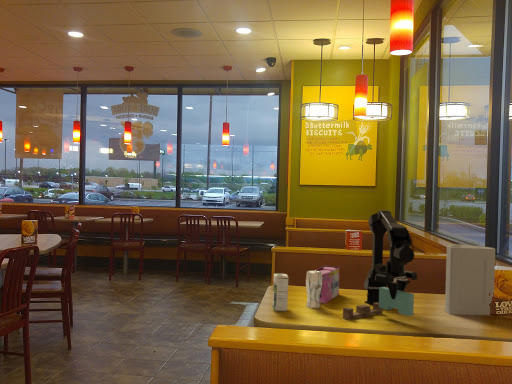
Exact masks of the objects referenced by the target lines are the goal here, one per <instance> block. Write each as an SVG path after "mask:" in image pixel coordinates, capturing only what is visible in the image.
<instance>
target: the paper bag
mask: <svg viewBox="0 0 512 384" xmlns="http://www.w3.org/2000/svg"><path fill="white" fill-rule="evenodd" d="M445 263H446V266H445V296H444V297H445V299H444V300H445V303H444V304H445V305H444V312H445V313H446V314H448V315H456V316H457V315H458V316H459V315H460V316H463V315H464V316H491V315H490V306H489V304H490V303H491V301H492V297H493V293H494V294H495V273H496V271H495V269H496V248H494V247H489V246H488V247H487V246H480V245H479V246H478V245H471V244H470V245H469V244H459V243H452V244H450V245H447V246H446V262H445ZM489 293H490V296H489Z"/></svg>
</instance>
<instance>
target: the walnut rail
mask: <svg viewBox="0 0 512 384" xmlns="http://www.w3.org/2000/svg"><path fill="white" fill-rule="evenodd" d="M383 310H384V309H382V308H379V303H378V302H376V303H373V305H372V308H371V305H370V304H369V305H368V304H359V305H356V306H355V311H354V309H353V308H352V307H347V306H346V307H342V318H343V319H344V320H347V321H351V320H356V319H361V318H366V317H373V316H376V315H382V314H383Z"/></svg>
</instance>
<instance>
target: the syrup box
mask: <svg viewBox="0 0 512 384" xmlns="http://www.w3.org/2000/svg"><path fill="white" fill-rule="evenodd" d="M272 282H273V284H272V285H273V286H272V303H271V304H272V307H271V308H272V310H273V312H287V311H288V296H289V290H288V289H289V275H288V274H287V273H273V281H272Z"/></svg>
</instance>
